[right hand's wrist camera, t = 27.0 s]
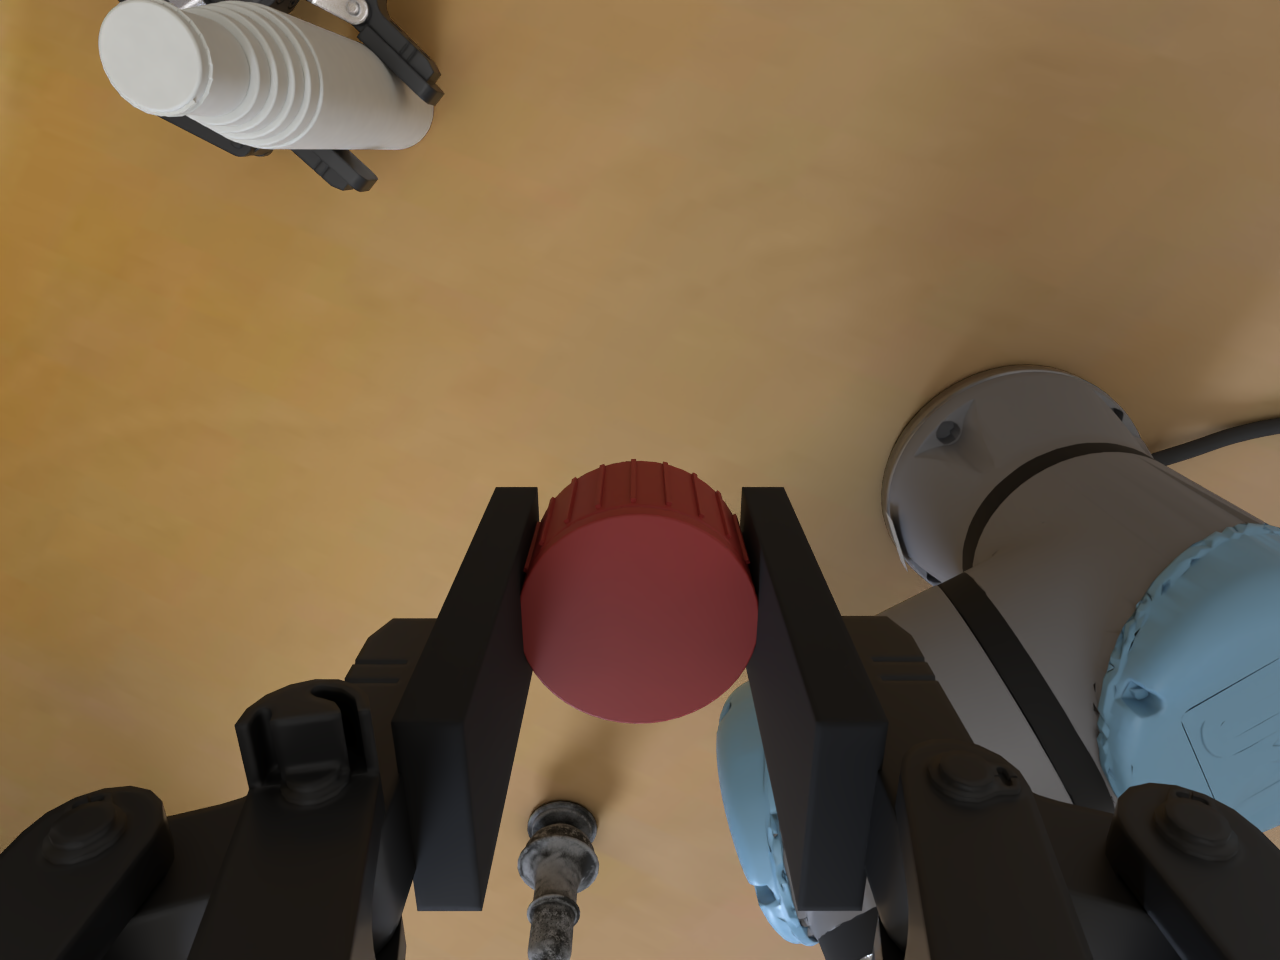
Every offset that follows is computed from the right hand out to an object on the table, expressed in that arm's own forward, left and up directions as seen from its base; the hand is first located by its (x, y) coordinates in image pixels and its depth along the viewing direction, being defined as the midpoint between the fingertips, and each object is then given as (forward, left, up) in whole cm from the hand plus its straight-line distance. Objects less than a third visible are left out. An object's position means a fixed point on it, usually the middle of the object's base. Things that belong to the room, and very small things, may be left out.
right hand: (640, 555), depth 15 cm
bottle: (+12, -10, -33) cm, 36 cm away
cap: (0, 0, +2) cm, 2 cm away
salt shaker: (+9, +40, -33) cm, 53 cm away
